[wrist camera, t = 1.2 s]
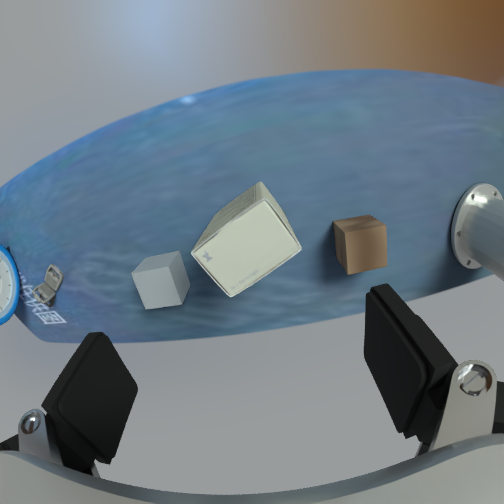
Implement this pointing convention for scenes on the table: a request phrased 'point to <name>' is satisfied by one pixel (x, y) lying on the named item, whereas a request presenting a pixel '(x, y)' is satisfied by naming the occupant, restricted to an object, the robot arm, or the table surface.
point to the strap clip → (49, 286)
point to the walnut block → (360, 243)
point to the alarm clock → (8, 285)
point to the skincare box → (246, 241)
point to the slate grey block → (162, 280)
